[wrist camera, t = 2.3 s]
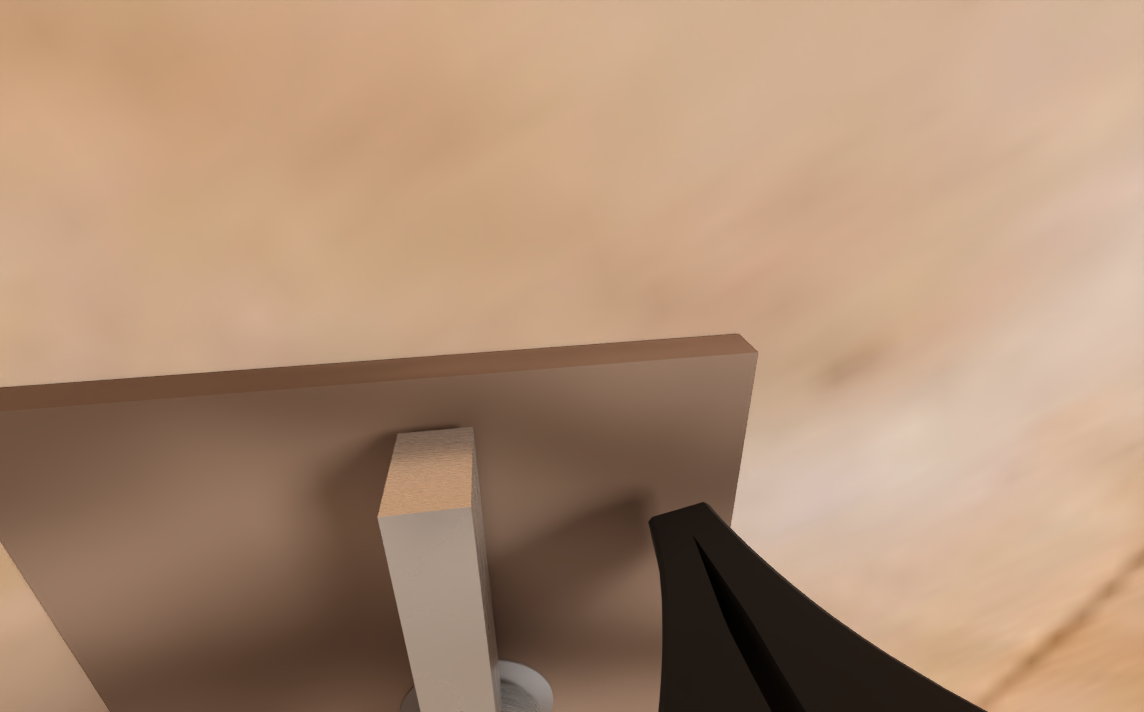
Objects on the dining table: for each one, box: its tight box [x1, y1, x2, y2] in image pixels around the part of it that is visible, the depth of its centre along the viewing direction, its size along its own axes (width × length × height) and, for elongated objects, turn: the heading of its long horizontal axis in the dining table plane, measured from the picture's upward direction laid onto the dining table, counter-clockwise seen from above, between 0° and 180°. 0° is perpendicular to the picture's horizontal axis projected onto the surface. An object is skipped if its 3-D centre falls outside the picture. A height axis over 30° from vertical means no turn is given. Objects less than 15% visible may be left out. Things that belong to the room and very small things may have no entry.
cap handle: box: [377, 427, 541, 712], centre depth 13 cm, size 12×4×2 cm, turn 1°
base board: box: [0, 334, 758, 712], centre depth 14 cm, size 17×16×3 cm
